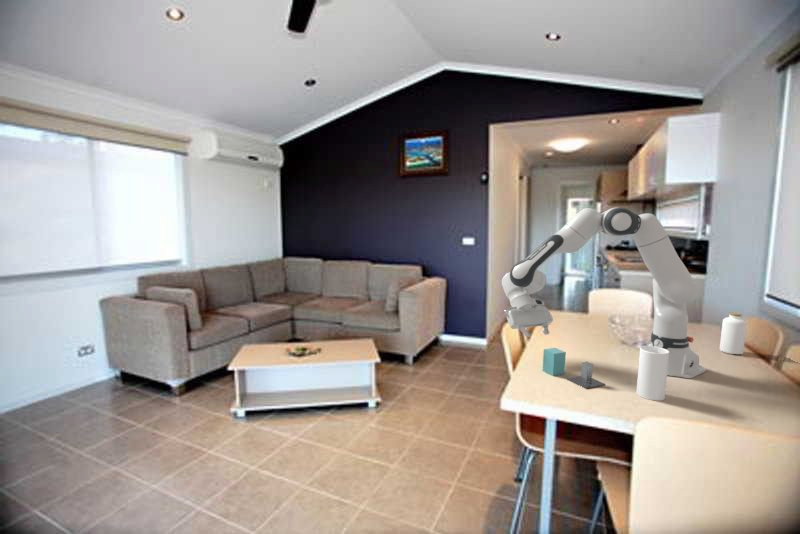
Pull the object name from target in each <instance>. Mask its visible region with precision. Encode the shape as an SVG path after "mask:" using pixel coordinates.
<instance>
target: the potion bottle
mask: <svg viewBox="0 0 800 534" xmlns="http://www.w3.org/2000/svg"><path fill="white" fill-rule="evenodd" d="M747 324H748V323H747V321H746V320H745V319H743V318H742V314H741V313H738V312H729V314H728V317H724V318H723V319H722V325H721V334H720V340H719V341H720V342H719V351H721V352H722V351H723V352H722V353H724V352H726V353H725V354H727V353H730V354H729V355H732V354H741V355H743V354H744V349H745V341H746V335H747V333H746V332H747Z"/></svg>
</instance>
